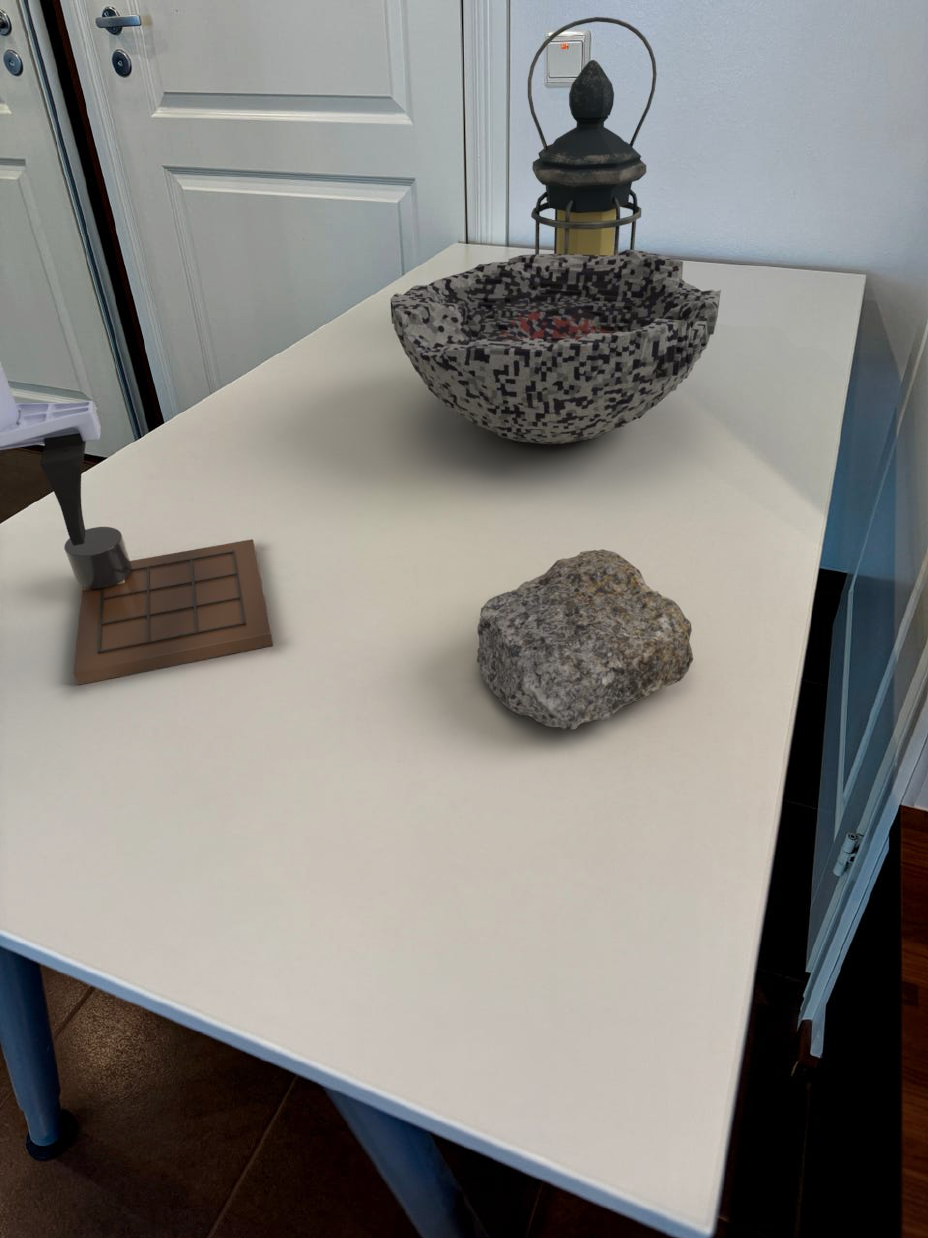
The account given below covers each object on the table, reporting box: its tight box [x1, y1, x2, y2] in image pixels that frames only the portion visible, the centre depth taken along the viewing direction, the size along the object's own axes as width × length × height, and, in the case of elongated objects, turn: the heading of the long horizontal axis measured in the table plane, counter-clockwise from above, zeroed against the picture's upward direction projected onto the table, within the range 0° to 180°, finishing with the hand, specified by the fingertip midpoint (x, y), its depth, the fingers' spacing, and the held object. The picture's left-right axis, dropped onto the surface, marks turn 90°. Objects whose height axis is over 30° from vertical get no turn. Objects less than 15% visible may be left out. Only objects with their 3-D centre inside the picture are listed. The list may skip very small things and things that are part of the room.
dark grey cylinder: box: [64, 526, 132, 589], centre depth 71 cm, size 4×4×3 cm
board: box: [72, 538, 274, 686], centre depth 69 cm, size 14×14×1 cm
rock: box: [476, 549, 694, 730], centre depth 61 cm, size 13×6×15 cm
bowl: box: [389, 249, 722, 445], centre depth 90 cm, size 31×31×15 cm
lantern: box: [527, 16, 658, 255], centre depth 104 cm, size 14×13×35 cm
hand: (21, 547), depth 60 cm, fingers open, 7 cm apart
